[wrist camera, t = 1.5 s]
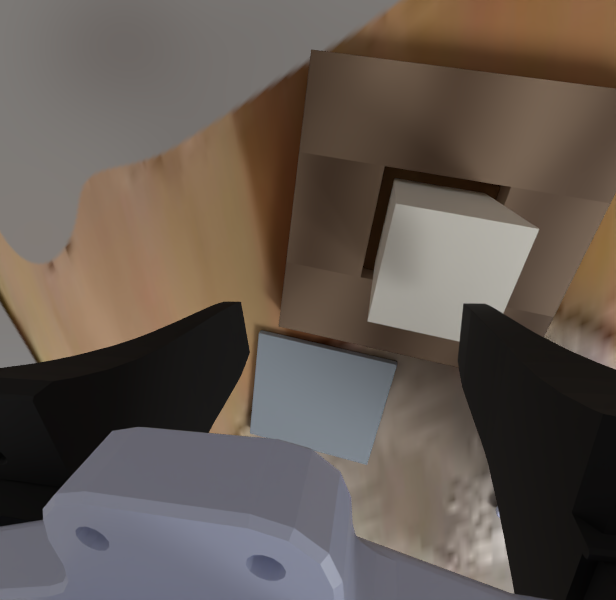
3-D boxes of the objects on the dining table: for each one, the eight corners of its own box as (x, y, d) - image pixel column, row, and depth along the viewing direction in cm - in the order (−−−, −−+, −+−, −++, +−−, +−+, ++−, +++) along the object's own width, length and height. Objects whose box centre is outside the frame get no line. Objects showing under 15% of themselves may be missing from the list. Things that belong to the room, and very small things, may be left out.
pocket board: (640, 98, 15) (664, 94, 14) (513, 366, 22) (521, 381, 20) (317, 56, 17) (311, 49, 16) (285, 315, 23) (278, 326, 22)
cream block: (484, 193, 18) (539, 229, 11) (456, 276, 20) (488, 347, 13) (394, 177, 19) (395, 203, 12) (375, 260, 21) (367, 321, 14)
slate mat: (396, 361, 23) (397, 365, 23) (367, 460, 27) (367, 464, 27) (261, 330, 24) (258, 332, 24) (251, 429, 28) (249, 433, 28)
